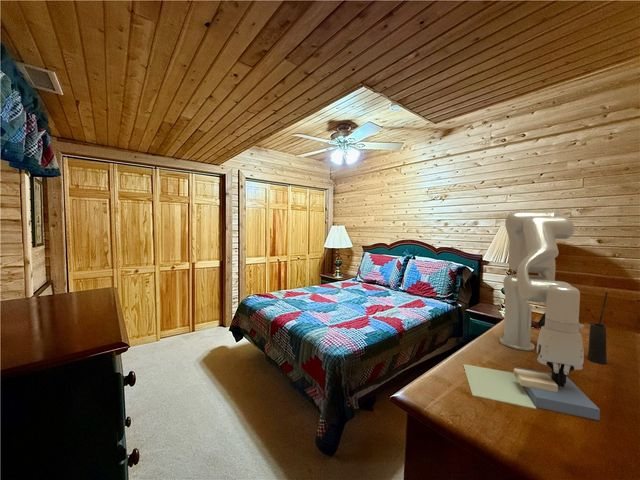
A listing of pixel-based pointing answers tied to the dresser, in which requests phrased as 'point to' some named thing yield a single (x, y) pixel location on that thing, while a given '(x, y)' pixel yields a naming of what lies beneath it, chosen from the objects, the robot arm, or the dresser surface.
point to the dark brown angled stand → (538, 324)
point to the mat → (496, 386)
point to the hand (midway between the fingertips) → (558, 384)
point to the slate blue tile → (563, 399)
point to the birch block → (535, 380)
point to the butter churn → (598, 340)
